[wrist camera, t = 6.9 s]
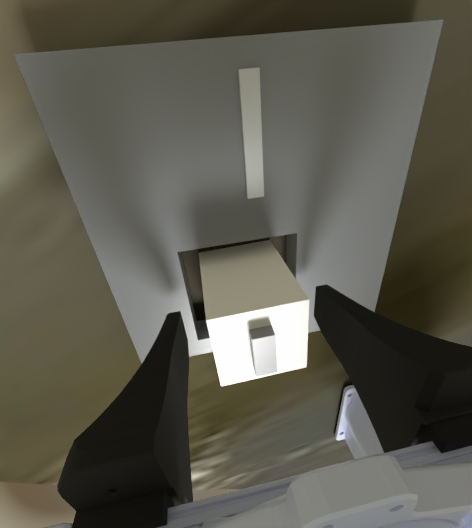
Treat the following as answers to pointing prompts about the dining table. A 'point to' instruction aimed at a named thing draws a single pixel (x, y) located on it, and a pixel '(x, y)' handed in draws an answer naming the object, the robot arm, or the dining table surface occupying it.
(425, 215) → the dining table surface
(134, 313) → the socket plate
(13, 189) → the dining table surface
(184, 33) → the dining table surface
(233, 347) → the block
